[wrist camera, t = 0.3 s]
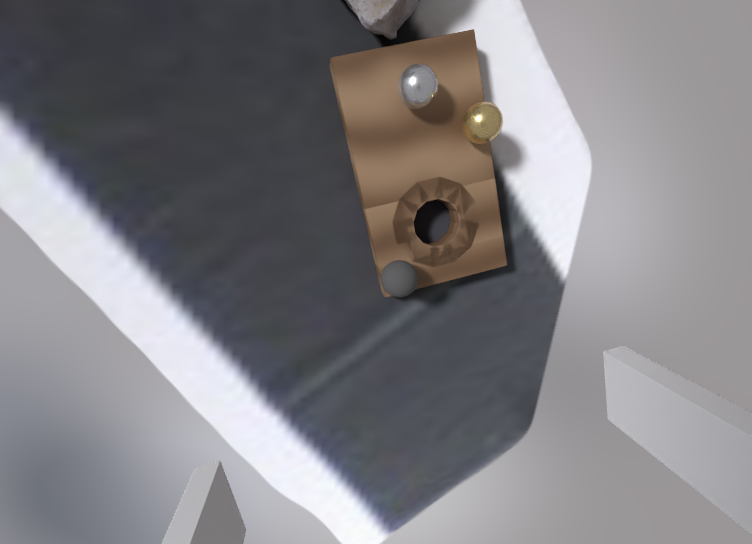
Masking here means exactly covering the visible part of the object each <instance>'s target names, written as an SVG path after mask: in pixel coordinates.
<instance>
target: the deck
mask: <svg viewBox="0 0 752 544" xmlns="http://www.w3.org/2000/svg"><path fill="white" fill-rule="evenodd" d="M417 63H420V64H425V65H427V66H429V67H430V68H431V69H433V71H434V72H435V74H436V76H437V78H438V92H437V95H436V97H435V99H434V101H433V102H432V103H431V104H430V105H429V106H427V107H425V108H423V109H411V108H409V107H407V106H405V105H404V104H403V103H402V102H401V100H400V98H399V96H398V92H397V83H398V79H399V77H400V75H401V73H402V72H403V71H404V70H405V69H406V68H407V67H408V66H410V65H413V64H417ZM330 70H331V74H332V78H333V83H334V87H335V91H336V96H337V100H338V105H339V109H340V113H341V118H342V122H343V126H344V131H345V135H346V139H347V144H348V148H349V152H350V157H351V161H352V165H353V170H354V174H355V178H356V183H357V187H358V191H359V196H360V200H361V205H362V209H363V213H364V218H365V222H366V226H367V231H368V235H369V239H370V244H371V248H372V252H373V257H374V261H375V265H376V270H377V274H378V278H379V283H380V287H381V291H382V293H383V294H384V296H385V297H389V296H391V295H390V294H388V293H387V292H386V291H385V290H384V288H383V286H382V284H381V274H382V271H383V269H384V268H385V266H386V265H388V264H389V263H390V262H392V261H396V260H403V261H406V262H408V263H410V264H411V265H412V266H413V267H414V268H415V269H416V271H417V274H418V283H417V286H416V288H415V289H419V288H423V287H427V286H430V285H434V284H438V283H442V282H446V281H449V280H453V279H457V278H461V277H465V276H469V275H472V274H476V273H480V272H484V271H488V270H491V269H495V268H499V267H503V266H507V261H506V254H505V247H504V240H503V233H502V225H501V218H500V211H499V204H498V197H497V190H496V183H495V175H494V168H493V161H492V154H491V147H490V142H488V143H485V144H476V143H473V142H471V141H469V140H468V139H467V138H466V137H465V135H464V133H463V130H462V120H463V117H464V114H465V113H466V111H467V110H468V109H469V108H470V107H471V106H472V105H474V104H476V103H479V102H484V97H483V90H482V83H481V76H480V68H479V61H478V54H477V47H476V40H475V33H474V29H473V30H468V31H463V32H458V33H453V34H448V35H443V36H438V37H433V38H428V39H423V40H418V41H413V42H408V43H403V44H398V45H392V46H387V47H382V48H377V49H372V50H367V51H362V52H357V53H352V54H347V55H342V56H337V57H332V58H331V60H330ZM431 200H438V201H441V202H442V203H443V204H444V205H445V206H446V208H447V209H448V210H449V214H450V220H451V223H450V225H449V228H448V231H447V233H446V234H445V235H444V236H443V237H442V238H441V239H440V240H439V241H435V242H431V243H425V242H422V241H421V240H420V239H419V238H418V237H417V236H416V234H415V228H414V223H413V222H414V219H415V216H416V213H417V210H418V209H419V208H420V207H421V206H422V205H423V204H424V203H426V202H427V201H431Z"/></svg>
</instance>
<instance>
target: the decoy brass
mask: <svg viewBox="0 0 752 544" xmlns="http://www.w3.org/2000/svg"><path fill="white" fill-rule="evenodd" d="M502 124H503V117H502V113H501V111H500V110H499V108H498V107H497V106H496V105H494V104H493V103H490V102H479V103H476V104H474V105H472V106H471V107H470V108H469V109H468V110H467V111H466V113H465V114H464V117H463V120H462V130H463V133H464V135H465V137H466V138H467V139H468V140H469V141H471V142H473V143H476V144H485V143H488V142H490V141H492V140H493V139H494V138H496V137H497V135H498V134H499V133H500V131H501V128H502Z"/></svg>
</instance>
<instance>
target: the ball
mask: <svg viewBox="0 0 752 544" xmlns="http://www.w3.org/2000/svg"><path fill="white" fill-rule="evenodd" d="M397 92H398V96H399V98H400V100H401V102H402V103H403V104H404V105H405V106H407V107H409V108H411V109H423V108H425V107H427V106H429V105H430V104H431V103H432V102H433V101H434V99H435V97H436V95H437V92H438V78H437V76H436V74H435V72H434V71H433V69H431V68H430V67H429V66H427V65H425V64H420V63H417V64H413V65H410V66H408V67H407V68H406V69H405V70H404V71H403V72H402V73H401V75H400V77H399V79H398V83H397Z"/></svg>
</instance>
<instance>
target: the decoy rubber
mask: <svg viewBox="0 0 752 544" xmlns="http://www.w3.org/2000/svg"><path fill="white" fill-rule="evenodd" d="M417 283H418V274H417V271H416V269H415V268H414V267H413V266H412V265H411V264H410V263H408V262H406V261H403V260H396V261H392V262H390V263H389V264H388V265H386V266H385V268H384V269H383V271H382V274H381V284H382V286H383V288H384V290H385V291H386V292H387V293H388V294H390V295H391V296H394V297H405V296H408V295H409V294H411V293H412V292H413V291H414V290H415V288H416V286H417Z"/></svg>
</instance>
